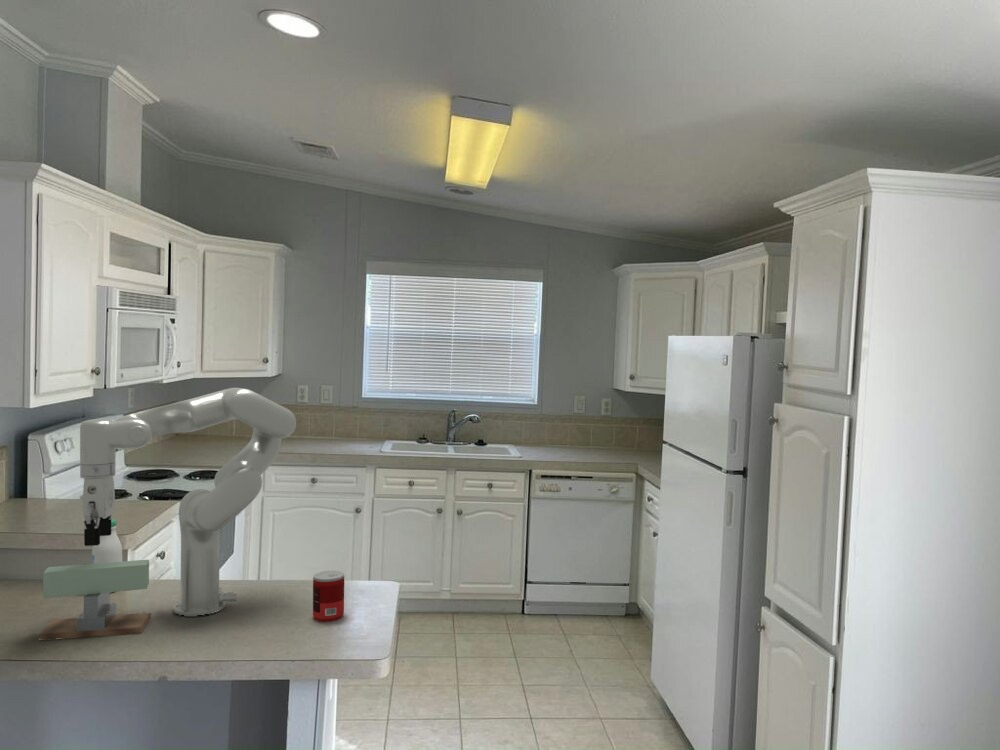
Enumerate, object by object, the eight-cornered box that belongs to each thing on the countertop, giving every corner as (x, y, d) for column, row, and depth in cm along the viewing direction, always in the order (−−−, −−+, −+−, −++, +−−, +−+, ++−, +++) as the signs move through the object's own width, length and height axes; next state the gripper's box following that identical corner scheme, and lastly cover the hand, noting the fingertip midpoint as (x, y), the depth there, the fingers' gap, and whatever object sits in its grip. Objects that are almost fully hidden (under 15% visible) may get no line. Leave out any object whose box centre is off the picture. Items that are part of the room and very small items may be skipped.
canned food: (349, 614, 188) (350, 572, 188) (330, 624, 181) (331, 580, 181) (326, 609, 191) (326, 568, 191) (306, 619, 184) (306, 576, 184)
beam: (148, 583, 181) (149, 559, 181) (146, 588, 177) (147, 564, 177) (48, 591, 174) (48, 567, 173) (43, 598, 169) (43, 572, 169)
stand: (150, 618, 183) (150, 581, 183) (141, 633, 173) (141, 593, 173) (53, 625, 177) (53, 587, 177) (38, 640, 168) (38, 600, 167)
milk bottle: (128, 586, 208) (128, 518, 208) (109, 595, 200) (109, 524, 200) (104, 585, 209) (105, 516, 209) (84, 593, 202) (85, 522, 201)
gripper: (104, 475, 167) (105, 548, 168) (124, 464, 184) (124, 531, 184) (68, 476, 165) (69, 550, 166) (91, 465, 182) (91, 532, 182)
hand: (98, 540), depth 175 cm, fingers open, 9 cm apart
